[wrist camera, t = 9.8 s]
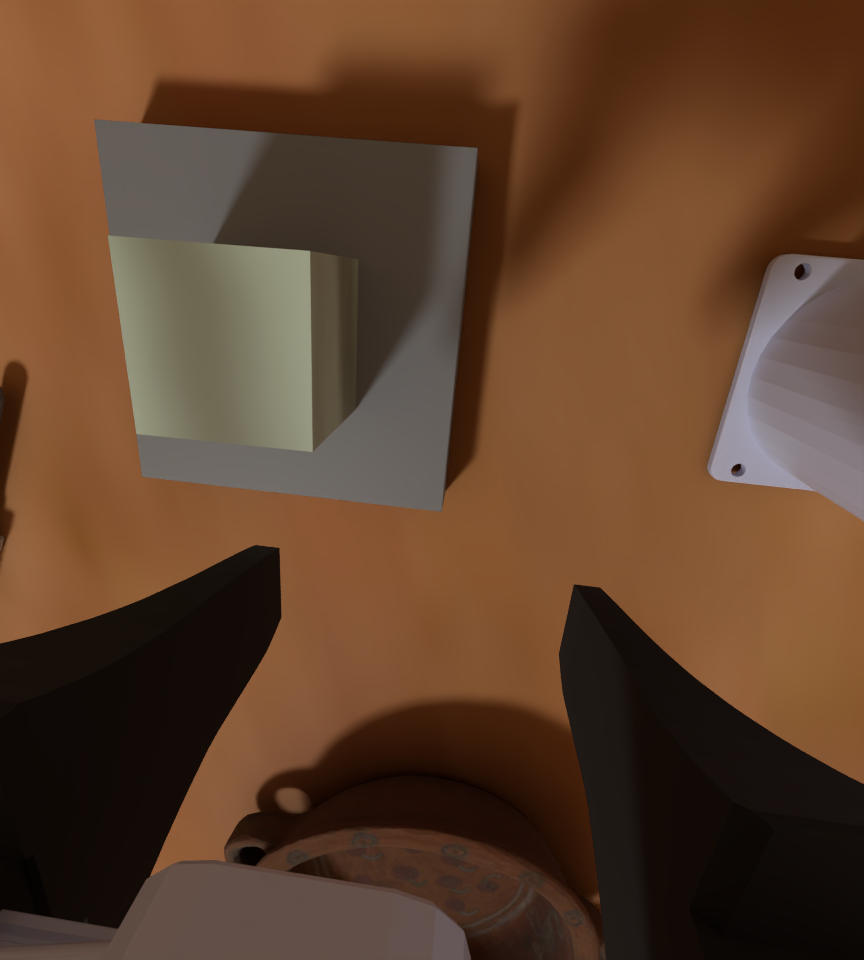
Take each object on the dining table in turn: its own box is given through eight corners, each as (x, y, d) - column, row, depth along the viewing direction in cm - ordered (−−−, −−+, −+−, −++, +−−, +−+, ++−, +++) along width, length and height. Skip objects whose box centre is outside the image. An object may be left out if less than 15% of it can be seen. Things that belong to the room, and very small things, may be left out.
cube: (358, 259, 17) (310, 251, 12) (355, 409, 19) (312, 452, 14) (210, 248, 17) (107, 235, 12) (222, 396, 19) (136, 433, 14)
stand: (478, 162, 17) (477, 148, 15) (445, 491, 22) (441, 511, 20) (134, 136, 18) (94, 119, 16) (170, 460, 22) (142, 476, 20)
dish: (266, 689, 27) (220, 774, 22) (669, 803, 27) (707, 911, 22) (229, 887, 33) (188, 985, 29) (554, 978, 34) (565, 1090, 29)
